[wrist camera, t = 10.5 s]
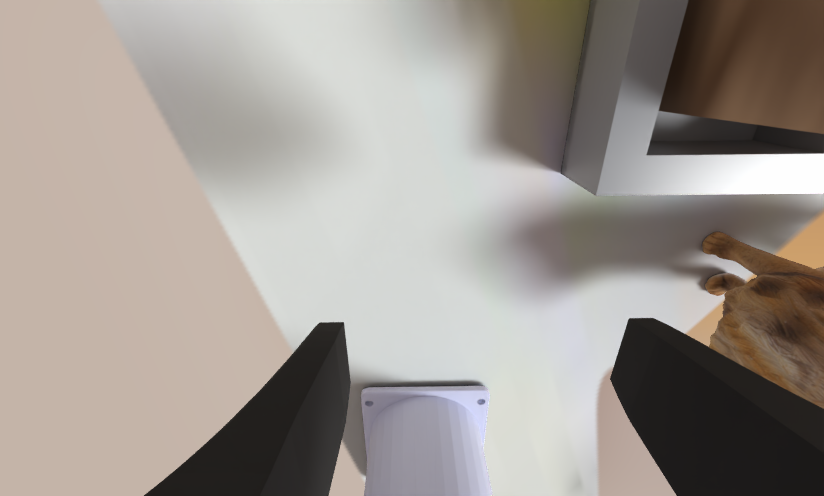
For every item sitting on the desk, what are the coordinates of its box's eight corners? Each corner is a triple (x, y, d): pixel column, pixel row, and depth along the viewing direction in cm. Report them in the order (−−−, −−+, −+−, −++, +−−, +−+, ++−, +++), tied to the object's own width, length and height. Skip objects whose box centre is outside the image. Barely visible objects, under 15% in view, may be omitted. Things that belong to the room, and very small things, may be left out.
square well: (762, 171, 17) (844, 192, 14) (560, 173, 17) (596, 195, 14) (873, -95, 13) (1028, -153, 10) (606, -94, 13) (673, -150, 9)
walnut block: (737, 106, 15) (1040, 134, 8) (643, 108, 15) (858, 139, 8) (778, -9, 13) (1212, -108, 6) (670, -6, 13) (979, -102, 6)
